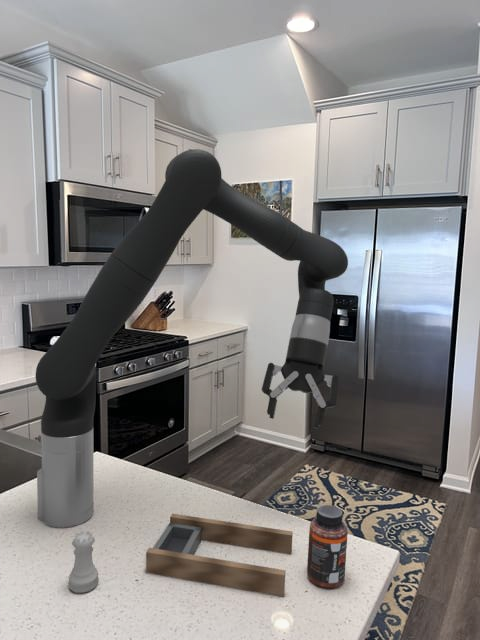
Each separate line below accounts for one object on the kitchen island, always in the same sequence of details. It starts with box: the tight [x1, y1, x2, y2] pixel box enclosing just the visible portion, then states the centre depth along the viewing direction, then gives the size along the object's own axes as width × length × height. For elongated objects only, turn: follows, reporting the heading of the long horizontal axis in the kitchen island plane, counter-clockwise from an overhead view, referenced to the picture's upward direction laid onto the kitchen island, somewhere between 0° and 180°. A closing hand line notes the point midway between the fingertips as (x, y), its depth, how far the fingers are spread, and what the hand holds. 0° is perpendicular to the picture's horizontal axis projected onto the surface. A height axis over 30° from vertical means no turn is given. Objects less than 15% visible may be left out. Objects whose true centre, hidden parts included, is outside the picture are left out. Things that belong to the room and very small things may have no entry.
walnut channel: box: [145, 513, 294, 598], centre depth 79 cm, size 22×12×4 cm, turn 78°
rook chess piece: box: [67, 530, 100, 594], centre depth 72 cm, size 4×4×8 cm
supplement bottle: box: [306, 504, 348, 589], centre depth 76 cm, size 6×6×11 cm
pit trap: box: [152, 522, 202, 555], centre depth 81 cm, size 6×9×2 cm, turn 168°
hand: (293, 423), depth 90 cm, fingers open, 8 cm apart
